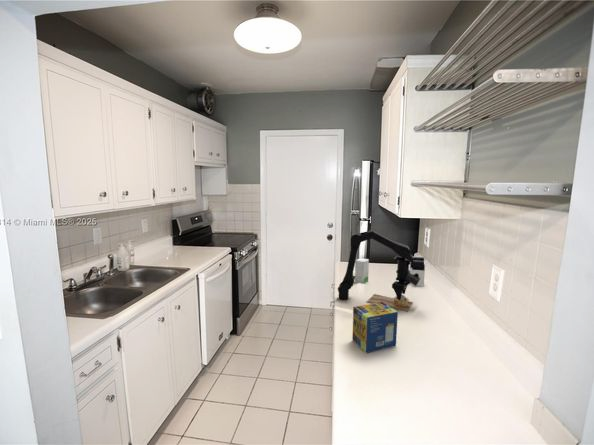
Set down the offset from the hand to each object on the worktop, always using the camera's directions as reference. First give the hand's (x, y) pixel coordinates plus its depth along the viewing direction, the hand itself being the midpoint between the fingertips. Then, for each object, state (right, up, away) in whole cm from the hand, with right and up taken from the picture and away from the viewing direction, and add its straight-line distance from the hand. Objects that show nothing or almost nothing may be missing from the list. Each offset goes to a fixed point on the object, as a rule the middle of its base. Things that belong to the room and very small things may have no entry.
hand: (401, 296), depth 160 cm
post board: (-5, -6, +4) cm, 9 cm away
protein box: (-24, -12, -33) cm, 42 cm away
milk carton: (+22, -1, +35) cm, 41 cm away
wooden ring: (0, -5, +1) cm, 5 cm away
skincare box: (-13, 0, +40) cm, 42 cm away
